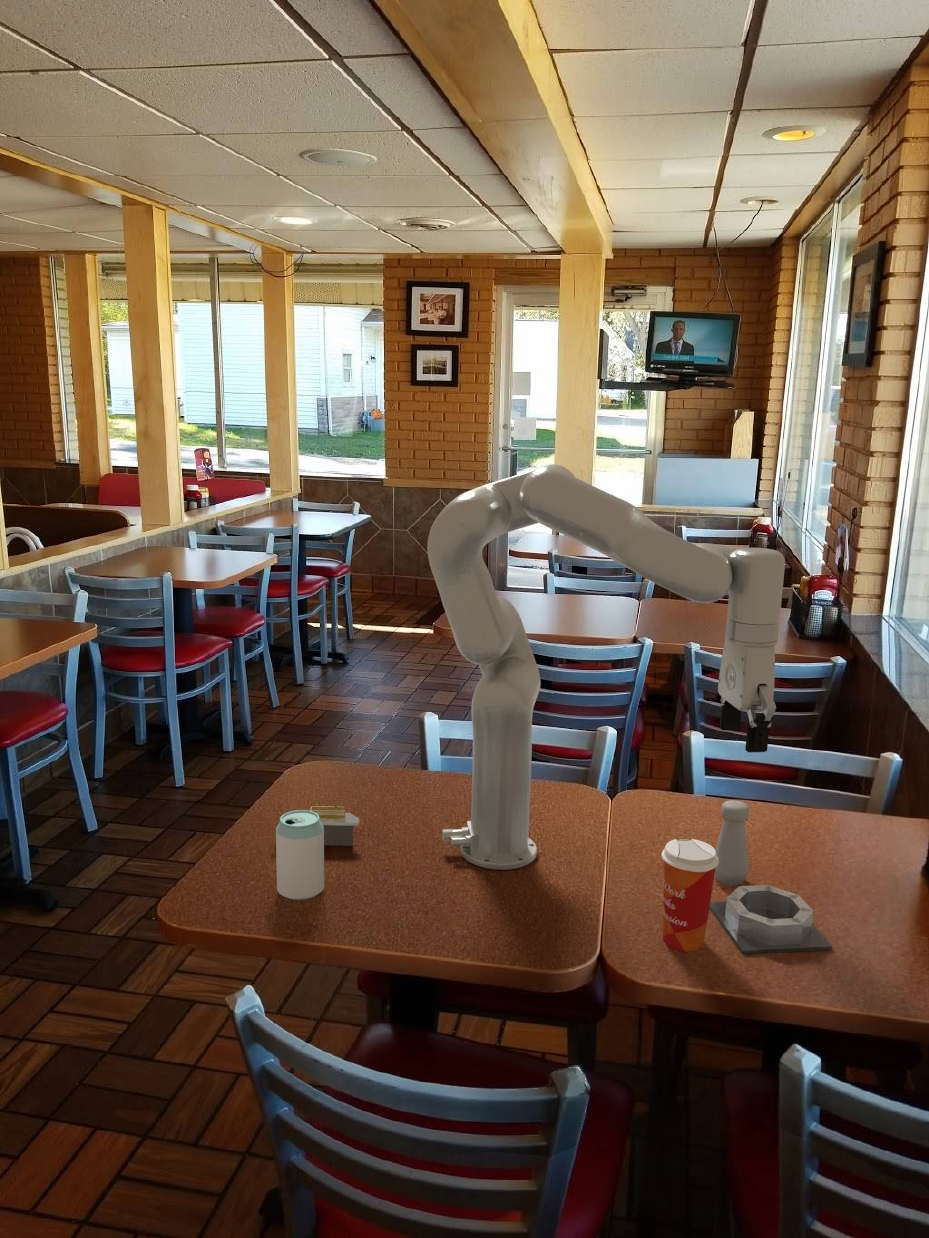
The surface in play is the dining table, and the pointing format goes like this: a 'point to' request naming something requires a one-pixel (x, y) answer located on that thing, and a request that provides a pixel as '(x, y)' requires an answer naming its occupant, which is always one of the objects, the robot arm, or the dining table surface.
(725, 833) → the grey peg
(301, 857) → the can
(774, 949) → the ring collar
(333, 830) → the platform
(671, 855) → the paper cup
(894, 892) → the dining table surface
